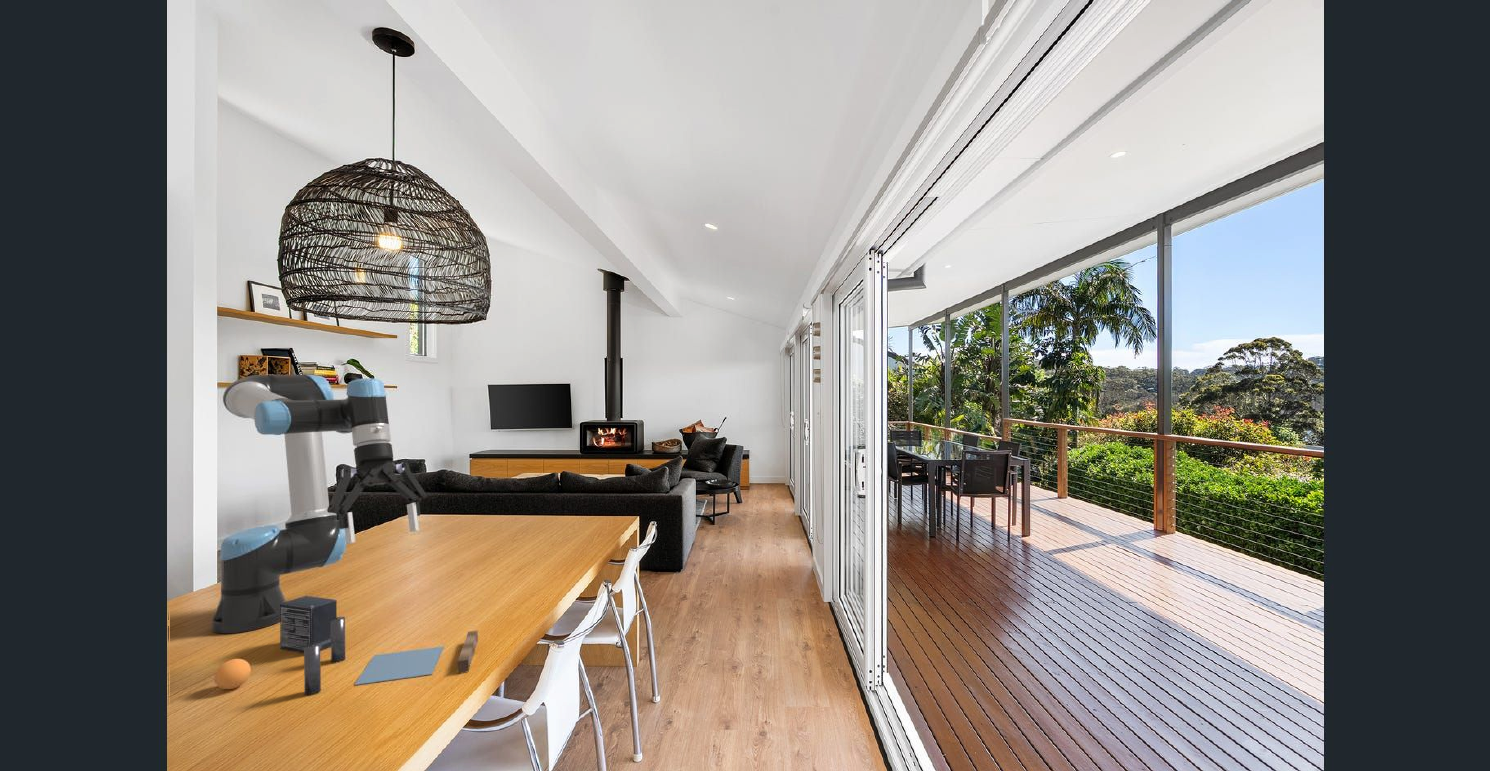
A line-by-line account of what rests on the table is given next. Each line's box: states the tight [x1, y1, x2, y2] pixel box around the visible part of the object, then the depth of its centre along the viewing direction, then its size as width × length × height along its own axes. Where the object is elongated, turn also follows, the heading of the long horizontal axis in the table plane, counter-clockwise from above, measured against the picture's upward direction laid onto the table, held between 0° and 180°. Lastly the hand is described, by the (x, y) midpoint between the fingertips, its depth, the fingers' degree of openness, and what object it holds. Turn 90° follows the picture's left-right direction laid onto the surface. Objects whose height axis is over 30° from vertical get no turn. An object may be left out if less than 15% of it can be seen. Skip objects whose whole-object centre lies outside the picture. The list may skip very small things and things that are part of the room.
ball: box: [214, 658, 252, 690], centre depth 121 cm, size 6×6×6 cm
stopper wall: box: [457, 630, 479, 674], centre depth 133 cm, size 16×2×2 cm, turn 17°
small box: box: [279, 595, 338, 654], centre depth 140 cm, size 11×6×10 cm, turn 71°
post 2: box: [330, 616, 346, 664], centre depth 132 cm, size 3×3×9 cm
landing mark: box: [354, 645, 445, 687], centre depth 130 cm, size 14×14×1 cm
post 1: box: [303, 643, 322, 697], centre depth 118 cm, size 3×3×9 cm
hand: (384, 537), depth 137 cm, fingers open, 13 cm apart
